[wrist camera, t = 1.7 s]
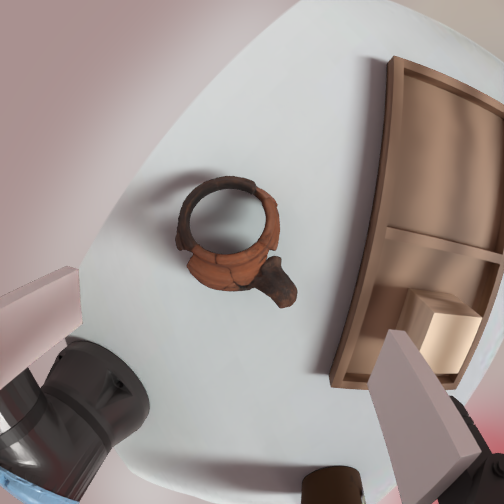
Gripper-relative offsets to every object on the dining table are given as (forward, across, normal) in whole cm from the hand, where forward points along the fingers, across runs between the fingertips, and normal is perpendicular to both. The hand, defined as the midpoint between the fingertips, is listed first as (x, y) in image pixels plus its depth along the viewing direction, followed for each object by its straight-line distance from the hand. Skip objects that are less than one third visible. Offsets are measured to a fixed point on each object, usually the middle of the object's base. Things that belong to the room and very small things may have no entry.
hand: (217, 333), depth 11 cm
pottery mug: (+17, -1, 0) cm, 17 cm away
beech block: (+16, +18, -4) cm, 25 cm away
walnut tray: (+17, +18, +4) cm, 25 cm away
